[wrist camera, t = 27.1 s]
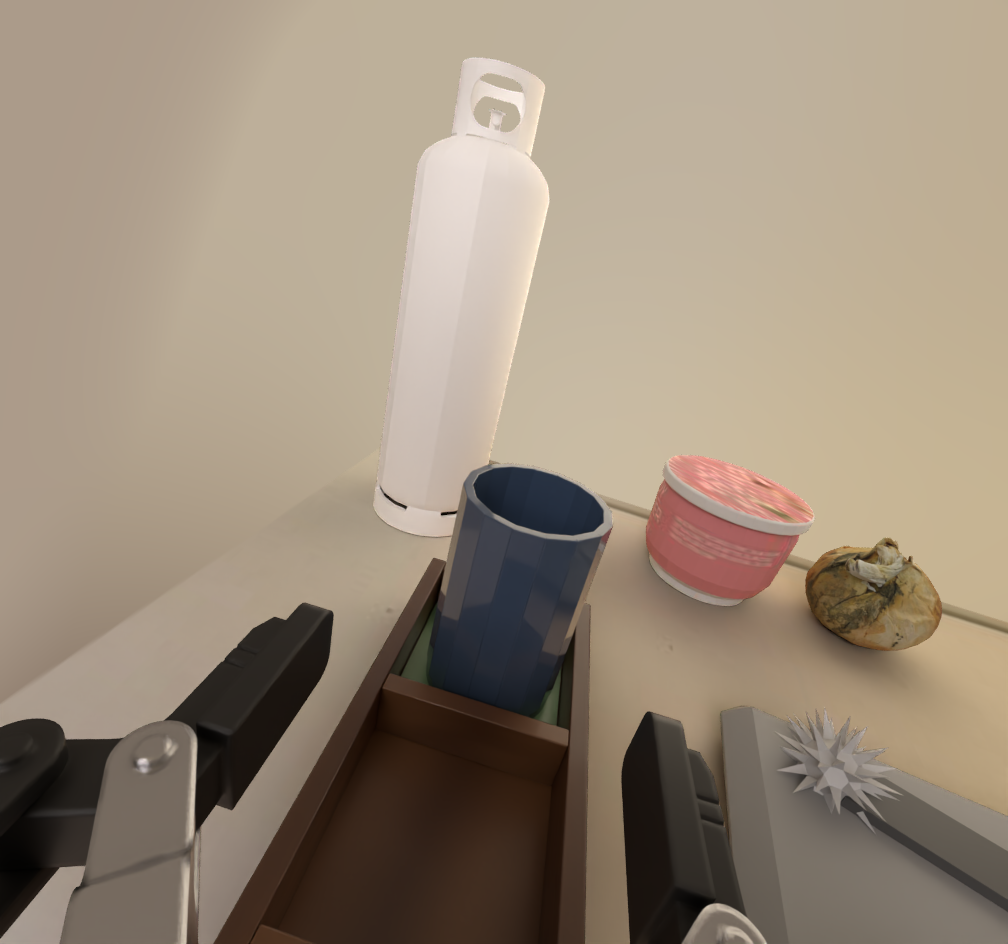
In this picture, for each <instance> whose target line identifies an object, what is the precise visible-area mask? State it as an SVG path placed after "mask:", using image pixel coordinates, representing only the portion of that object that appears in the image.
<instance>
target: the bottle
mask: <svg viewBox="0 0 1008 944" xmlns="http://www.w3.org/2000/svg"><path fill="white" fill-rule="evenodd" d="M488 73H492V74H496V75H500V76H504V77H507V78H510V79H513V80H516V81H517V82H518V83H519V84H520V85H521V87H522V91H523V93H521V92H513V91H510V90H505V89H501V88H499V87H496V86H493V85H490V84H488V83H486V82H484V81H481V80H480V78H481V77H482V76H483V75H485V74H488ZM544 91H545V85H544V83H543V82H542V81H541V80H540V79H539V78H537V77H536V76H535V75H533V74H532V73H530V72H528V71H526V70H524V69H522V68H520V67H517V66H515V65H512V64H509V63H506V62H502V61H498V60H494V59H488V58H468V59H466V60H464V61H463V64H462V68H461V74H460V82H459V88H458V94H457V101H456V107H455V114H454V121H453V127H452V134H451V137H449V138H446V139H443V140H440V141H438V142H436V143H435V144H433V145H432V146H430V147H429V148H427V149H426V150H425V151H424V153H423V155H422V157H421V159H420V160H419V162H418V165H417V173H416V180H415V188H414V197H413V203H412V212H411V219H410V226H409V234H408V242H407V250H406V258H405V265H404V272H403V280H402V288H401V296H400V303H399V311H398V318H397V326H396V334H395V341H394V349H393V357H392V365H391V373H390V380H389V388H388V395H387V403H386V410H385V418H384V426H383V434H382V441H381V449H380V456H379V464H378V473H377V481H376V487H375V494H374V503H373V508H374V510H375V511H376V513H377V515H378V516H379V517H380V518H381V519H382V520H383V521H385V522H386V523H387V524H388V525H390V526H393V527H395V528H397V529H399V530H401V531H404V532H407V533H411V534H415V535H419V536H430V537H442V536H452V534H453V529H454V524H455V520H456V515H457V514H454V515H442V516H441V512H452V511H457V510H458V506H459V501H460V496H461V492H462V487H463V483H464V481H465V480H466V478H467V476H468V475H469V473H470V472H471V471H473V470H475V469H478V468H480V467H483V466H485V465H488V463H489V458H490V454H491V450H492V446H493V441H494V437H495V432H496V428H497V424H498V420H499V415H500V411H501V407H502V403H503V398H504V394H505V390H506V385H507V381H508V377H509V373H510V368H511V364H512V360H513V355H514V351H515V347H516V342H517V338H518V334H519V330H520V325H521V321H522V316H523V312H524V308H525V304H526V299H527V295H528V291H529V286H530V282H531V278H532V274H533V269H534V264H535V261H536V256H537V252H538V247H539V243H540V239H541V235H542V231H543V226H544V222H545V218H546V213H547V209H548V205H549V201H550V199H549V191H548V184H547V182H546V180H545V178H544V176H543V174H542V173H541V171H540V170H539V168H538V167H537V166H536V165H535V164H534V163H533V161H532V160H531V159H530V157H531V153H532V148H533V143H534V139H535V133H536V129H537V124H538V120H539V115H540V110H541V105H542V100H543V96H544ZM486 96H489V97H492V98H495V99H498V100H501V101H505V102H509V103H513V104H514V105H516V106H517V108H518V110H519V113H520V124H519V125H518V126H517V127H516V128H515V129H514V130H513V131H510V132H507V133H506V132H501V131H500V129H501V123H502V118H503V117H502V116H504V115H506V114H505V113H502V111H497V110H495V109H494V110H491V109H489V111H490V112H491V113H492V114H491V118H490V124H489V128H487V127H484V126H481V125H480V124H479V123H478V122H477V121H476V120H475V117H474V114H473V112H474V109H475V107H476V104H477V102H478V101H479V100H480V99H482V98H483V97H486ZM477 135H478V136H482V137H478V136H477ZM502 142H504V143H506V144H509V145H506V144H504V143H502ZM384 493H386V494H387V495H388V496H389V497H391V498H392V499H393V500H395V501H397V502H399V503H401V504H403V505H405V506H407V509H404V508H402V507H400V506H398V505H395V504H394V503H392V502H391V501H390V500H389V499H387V498H386V497H385V496H384Z"/></svg>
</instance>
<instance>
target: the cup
mask: <svg viewBox="0 0 1008 944" xmlns="http://www.w3.org/2000/svg"><path fill="white" fill-rule="evenodd" d="M612 527H613V518H612V511H611V510H610V508H609V507H608V506H607V504H606V503H605V502H604V500H603V499H602V498H601V497H600V496H599V495H597V494H596V493H594V492H593V491H592V490H590V489H589V488H587V487H586V486H585V485H583V484H581V483H579V482H577V481H575V480H573V479H570V478H568V477H566V476H564V475H562V474H559V473H556V472H553V471H549V470H546V469H542V468H539V467H535V466H528V465H520V464H512V463H504V464H491V465H485V466H483V467H480V468H478V469H475V470H473V471H471V472H470V473H469V475H468V476H467V478H466V480H465V481H464V483H463V487H462V492H461V496H460V501H459V506H458V510H457V515H456V520H455V524H454V529H453V534H452V538H451V543H450V548H449V553H448V557H447V562H446V567H445V571H444V576H443V581H442V585H441V590H440V595H439V599H438V604H437V609H436V614H435V618H434V623H433V628H432V632H431V637H430V642H429V646H428V651H427V661H426V677H427V681H428V684H429V686H432V687H435V688H438V689H442V690H445V691H448V692H451V693H454V694H457V695H460V696H464V697H467V698H470V699H473V700H476V701H479V702H482V703H486V704H489V705H492V706H495V707H498V708H501V709H504V710H508V711H511V712H514V713H517V714H520V715H523V716H526V717H530V718H534V717H536V716H537V715H538V714H539V713H540V712H541V710H542V709H543V707H544V706H545V704H546V702H547V699H548V697H549V695H550V694H551V692H552V689H553V687H554V684H555V681H556V678H557V676H558V673H559V670H560V668H561V665H562V662H563V660H564V657H565V654H566V651H567V649H568V646H569V643H570V641H571V638H572V635H573V633H574V630H575V627H576V624H577V622H578V619H579V616H580V614H581V611H582V608H583V606H584V603H585V600H586V597H587V595H588V592H589V589H590V587H591V584H592V581H593V579H594V576H595V573H596V570H597V568H598V565H599V562H600V560H601V557H602V554H603V552H604V549H605V546H606V543H607V541H608V538H609V535H610V533H611V530H612Z"/></svg>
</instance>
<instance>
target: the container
mask: <svg viewBox="0 0 1008 944" xmlns="http://www.w3.org/2000/svg"><path fill="white" fill-rule="evenodd" d="M663 476H664V478H665V479H664V481H663V483H662V484H661V485H660V488H659V491H658V494H657V496H656V499H655V502H654V505H653V508H652V511H651V514H650V517H649V520H648V523H647V526H646V545H647V548H648V551H649V553H650V554H649V561H650V564H651V566H652V567H653V569H654V571H655V572H656V573H657V574H658V575H659V576H660V577H661V578H662V579H663V580H664V581H665V582H666V583H668V584H669V585H671V586H672V587H673V588H675V589H676V590H678V591H680V592H682V593H683V594H685V595H687V596H690V597H692V598H694V599H696V600H699V601H702V602H705V603H709V604H713V605H719V606H733V605H737V604H739V603H741V602H742V601H743V600H744V599H747V598H751V597H753V596H755V595H756V594H758V593H759V592H761V591H762V590H764V589H765V588H767V587H768V586H769V585H770V584H771V582H772V581H773V579H774V578H775V576H776V574H777V573H778V571H779V570H780V568H781V567H782V565H783V563H784V562H785V560H786V559H787V557H788V556H789V554H790V552H791V551H792V549H793V548H794V546H795V545H796V543H797V541H798V538H799V535H800V534H803V533H805V532H807V531H808V530H809V528H810V527H811V525H812V523H813V521H814V519H815V517H814V513H813V511H812V510H811V508H810V506H809V505H808V504H807V503H806V502H805V501H804V500H802V499H801V498H800V497H798V496H797V495H796V494H795V493H793V492H791V491H790V490H788V489H787V488H785V487H783V486H782V485H780V484H778V483H776V482H774V481H772V480H770V479H768V478H766V477H764V476H762V475H760V474H757V473H755V472H752V471H750V470H748V469H745V468H742V467H739V466H736V465H733V464H730V463H727V462H724V461H720V460H716V459H712V458H707V457H701V456H693V455H679V456H674V457H672V458H669V459H668V461H667V462H666V464H665V466H664V468H663Z"/></svg>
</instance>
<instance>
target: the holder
mask: <svg viewBox="0 0 1008 944" xmlns="http://www.w3.org/2000/svg"><path fill="white" fill-rule="evenodd" d="M445 567H446V561H443V560H440V559H436V558H433V559H432V561H431V563H430V565H429V566H428V568H427V570H426V572H425V573H424V575H423V577H422V579H421V580H420V582H419V584H418V586H417V587H416V589H415V591H414V593H413V595H412V596H411V598H410V600H409V602H408V603H407V605H406V607H405V609H404V610H403V612H402V614H401V616H400V617H399V619H398V621H397V623H396V624H395V626H394V628H393V630H392V631H391V633H390V635H389V637H388V638H387V640H386V642H385V644H384V645H383V647H382V649H381V651H380V652H379V654H378V656H377V658H376V659H375V661H374V663H373V665H372V666H371V668H370V670H369V672H368V673H367V675H366V677H365V679H364V680H363V682H362V684H361V686H360V687H359V689H358V691H357V693H356V694H355V696H354V698H353V700H352V701H351V703H350V705H349V707H348V709H347V710H346V712H345V714H344V716H343V717H342V719H341V721H340V723H339V724H338V726H337V728H336V730H335V731H334V733H333V735H332V737H331V738H330V740H329V742H328V744H327V745H326V747H325V749H324V751H323V752H322V754H321V756H320V758H319V759H318V761H317V763H316V765H315V766H314V768H313V770H312V772H311V773H310V775H309V777H308V779H307V780H306V782H305V784H304V786H303V787H302V789H301V791H300V793H299V794H298V796H297V798H296V800H295V801H294V803H293V805H292V807H291V808H290V810H289V812H288V814H287V815H286V817H285V819H284V821H283V823H282V824H281V826H280V828H279V830H278V831H277V833H276V835H275V837H274V838H273V840H272V842H271V844H270V845H269V847H268V849H267V851H266V852H265V854H264V856H263V858H262V859H261V861H260V863H259V865H258V866H257V868H256V870H255V872H254V873H253V875H252V877H251V879H250V880H249V882H248V884H247V886H246V887H245V889H244V891H243V893H242V894H241V896H240V898H239V900H238V901H237V903H236V905H235V907H234V908H233V910H232V912H231V914H230V915H229V917H228V919H227V921H226V922H225V924H224V926H223V928H222V929H221V931H220V933H219V935H218V936H217V938H216V940H215V942H214V944H585V909H586V849H587V789H588V729H589V669H590V608H591V606H590V604H587V603H584V606H583V608H582V611H581V614H580V616H579V619H578V622H577V624H576V627H575V630H574V633H573V635H572V638H571V641H570V643H569V646H568V649H567V651H566V654H565V657H564V660H563V662H562V665H561V668H560V670H559V673H558V676H557V678H556V681H555V684H554V687H553V689H552V692H551V694H550V695H549V697H548V699H547V702H546V704H545V706H544V707H543V709H542V710H541V712H540V713H539V714H538V715H537V716H536V717H534V718H530V717H526V716H523V715H520V714H517V713H514V712H511V711H508V710H504V709H501V708H498V707H495V706H492V705H489V704H486V703H482V702H479V701H476V700H473V699H470V698H467V697H464V696H460V695H457V694H454V693H451V692H448V691H445V690H442V689H438V688H435V687H432V686H429V684H428V681H427V677H426V661H427V651H428V646H429V642H430V637H431V632H432V628H433V623H434V618H435V614H436V609H437V604H438V599H439V595H440V590H441V585H442V581H443V576H444V571H445Z"/></svg>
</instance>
